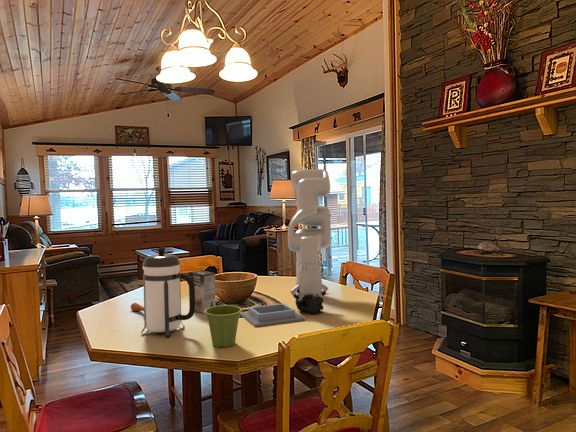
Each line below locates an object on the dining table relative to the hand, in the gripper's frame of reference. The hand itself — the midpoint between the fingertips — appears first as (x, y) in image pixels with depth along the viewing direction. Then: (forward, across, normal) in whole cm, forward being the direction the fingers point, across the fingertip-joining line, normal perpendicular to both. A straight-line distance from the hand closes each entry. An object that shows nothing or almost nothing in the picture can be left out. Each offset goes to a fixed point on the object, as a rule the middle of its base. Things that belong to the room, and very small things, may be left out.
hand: (309, 308), depth 178 cm
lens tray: (+1, +17, +1) cm, 17 cm away
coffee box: (+2, +39, -21) cm, 44 cm away
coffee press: (+2, +57, +2) cm, 57 cm away
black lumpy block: (+2, 0, 0) cm, 2 cm away
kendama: (+2, +62, -25) cm, 67 cm away
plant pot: (+2, +42, +23) cm, 48 cm away
